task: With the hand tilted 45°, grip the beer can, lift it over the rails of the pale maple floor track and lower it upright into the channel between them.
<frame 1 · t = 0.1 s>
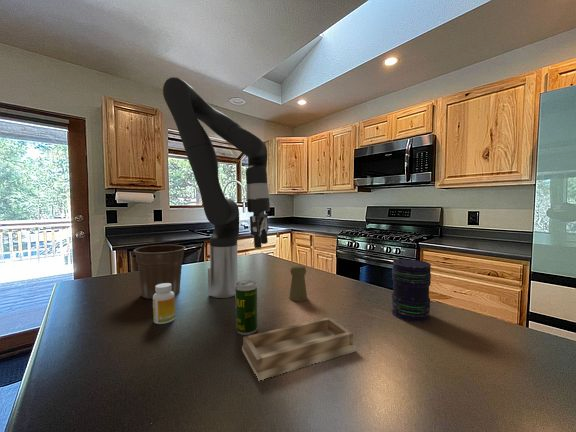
hand: (261, 245, 89), 17 cm above the countertop, fingers open, 8 cm apart
plant pot: (161, 294, 93), on the countertop
storage jar: (410, 315, 75), on the countertop
cork: (298, 298, 88), on the countertop
floor track: (298, 350, 57), on the countertop
beer can: (246, 331, 66), on the countertop
supplement bottle: (164, 320, 72), on the countertop
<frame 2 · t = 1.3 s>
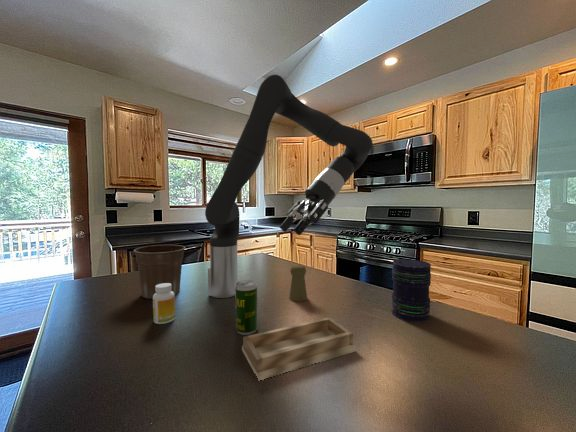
hand: (288, 231, 70), 24 cm above the countertop, fingers open, 8 cm apart
nothing on the countertop moved.
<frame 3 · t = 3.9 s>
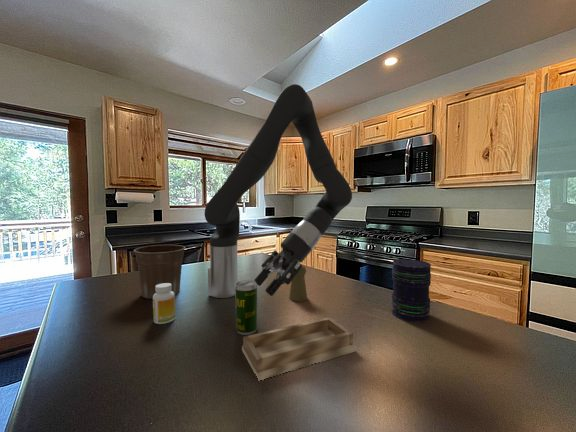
hand: (262, 288, 68), 10 cm above the countertop, fingers open, 8 cm apart
nothing on the countertop moved.
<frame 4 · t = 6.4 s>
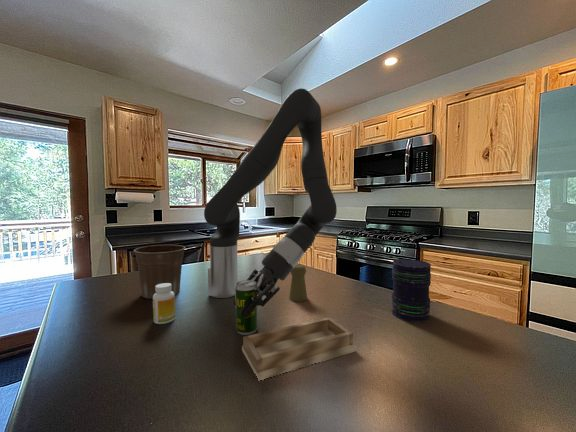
hand: (239, 310, 65), 5 cm above the countertop, fingers closed on beer can, 5 cm apart
beer can: (246, 331, 66), on the countertop, touching gripper
everything else where it was.
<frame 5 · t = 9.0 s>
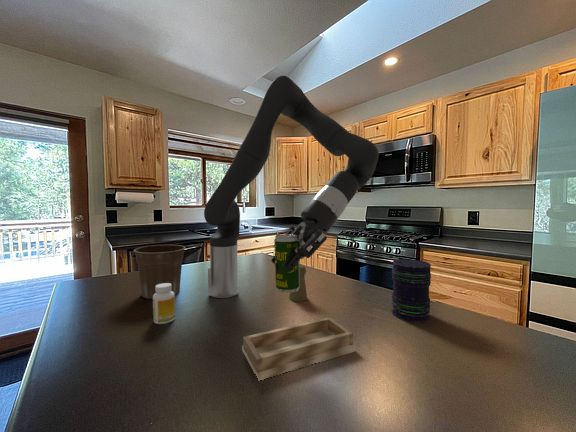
hand: (279, 266, 58), 18 cm above the countertop, fingers closed on beer can, 5 cm apart
beer can: (287, 290, 59), point 13 cm above the countertop, touching gripper
everything else where it was.
when the fingers open (8 cm above the countertop, at t = 12.1 s): beer can drops 1 cm, resting on floor track.
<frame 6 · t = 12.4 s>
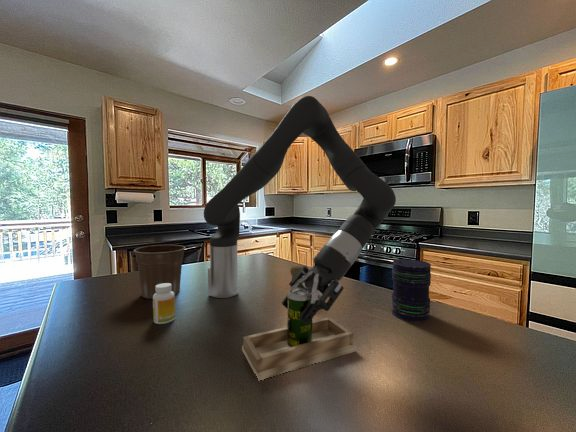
hand: (292, 313, 56), 8 cm above the countertop, fingers open, 8 cm apart
beer can: (299, 346, 57), point 1 cm above the countertop, touching floor track
everything else where it was.
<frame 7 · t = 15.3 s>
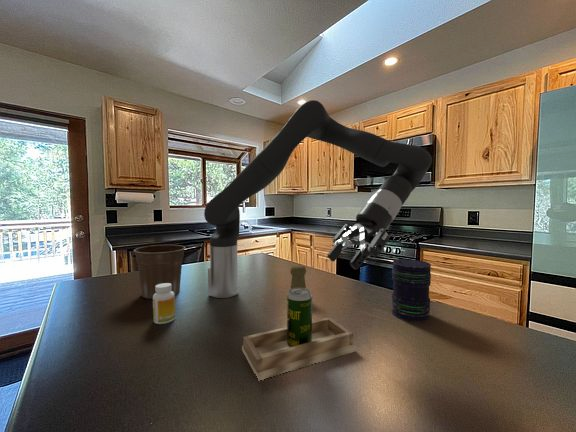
hand: (340, 262, 61), 18 cm above the countertop, fingers open, 8 cm apart
nothing on the countertop moved.
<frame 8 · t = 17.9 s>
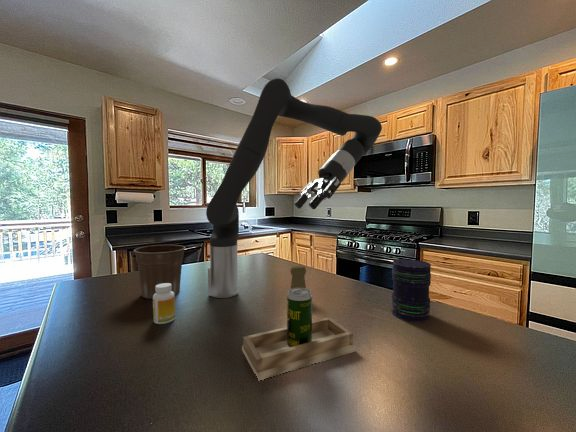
hand: (303, 206, 76), 31 cm above the countertop, fingers open, 8 cm apart
nothing on the countertop moved.
at the end: beer can inside the target area on the floor track (0.1 cm from its centre), point 0.8 cm above the floor track's base; beer can tilted 0°; the gripper is holding nothing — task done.
